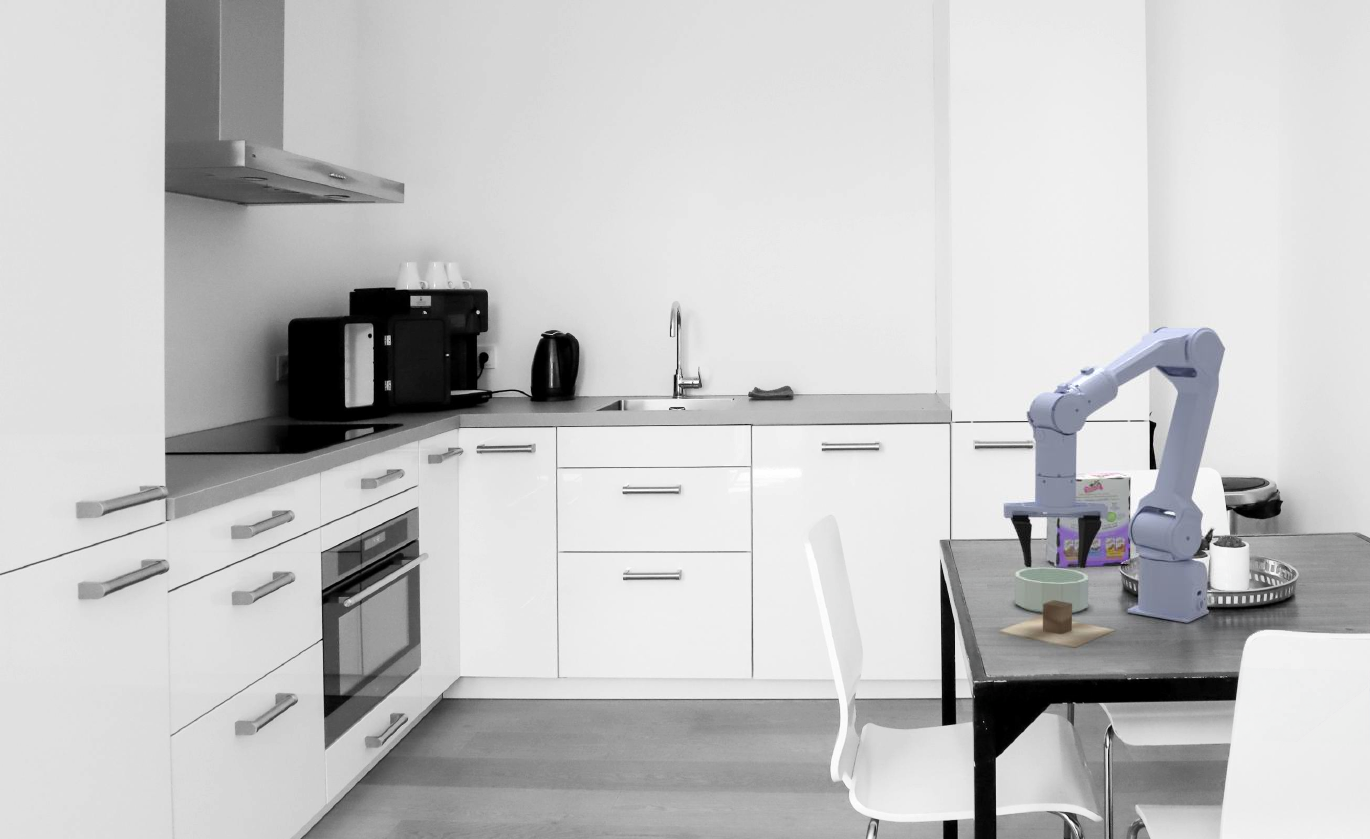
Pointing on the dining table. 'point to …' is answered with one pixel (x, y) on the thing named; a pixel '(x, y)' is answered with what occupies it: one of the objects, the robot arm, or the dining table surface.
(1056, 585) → the celadon bowl
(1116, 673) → the dining table surface
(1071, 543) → the candy box
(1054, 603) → the birch lid
